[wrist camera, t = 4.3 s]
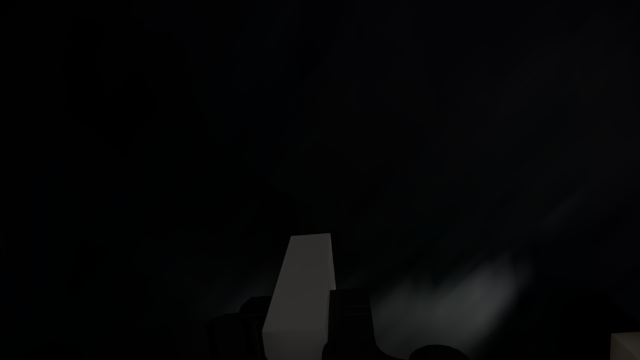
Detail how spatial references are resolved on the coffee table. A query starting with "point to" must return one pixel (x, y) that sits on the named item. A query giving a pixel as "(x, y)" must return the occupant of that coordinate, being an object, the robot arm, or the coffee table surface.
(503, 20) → the coffee table surface
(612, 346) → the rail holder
